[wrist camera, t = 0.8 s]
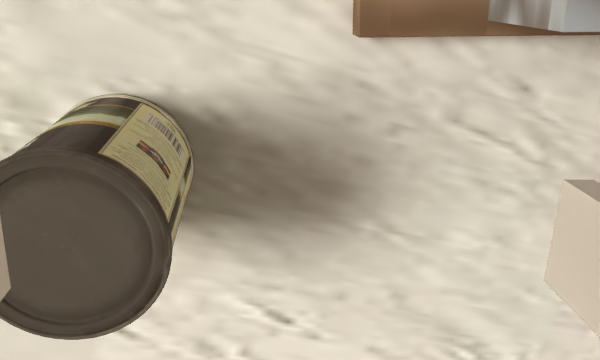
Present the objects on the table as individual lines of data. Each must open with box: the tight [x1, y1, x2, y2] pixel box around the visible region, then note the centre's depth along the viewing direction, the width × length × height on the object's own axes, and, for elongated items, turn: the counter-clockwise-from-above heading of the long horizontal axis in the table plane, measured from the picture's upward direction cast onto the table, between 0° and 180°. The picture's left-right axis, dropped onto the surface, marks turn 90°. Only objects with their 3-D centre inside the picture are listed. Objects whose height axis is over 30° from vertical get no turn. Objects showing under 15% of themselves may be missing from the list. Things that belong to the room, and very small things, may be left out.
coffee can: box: [0, 94, 194, 340], centre depth 35 cm, size 10×10×14 cm
